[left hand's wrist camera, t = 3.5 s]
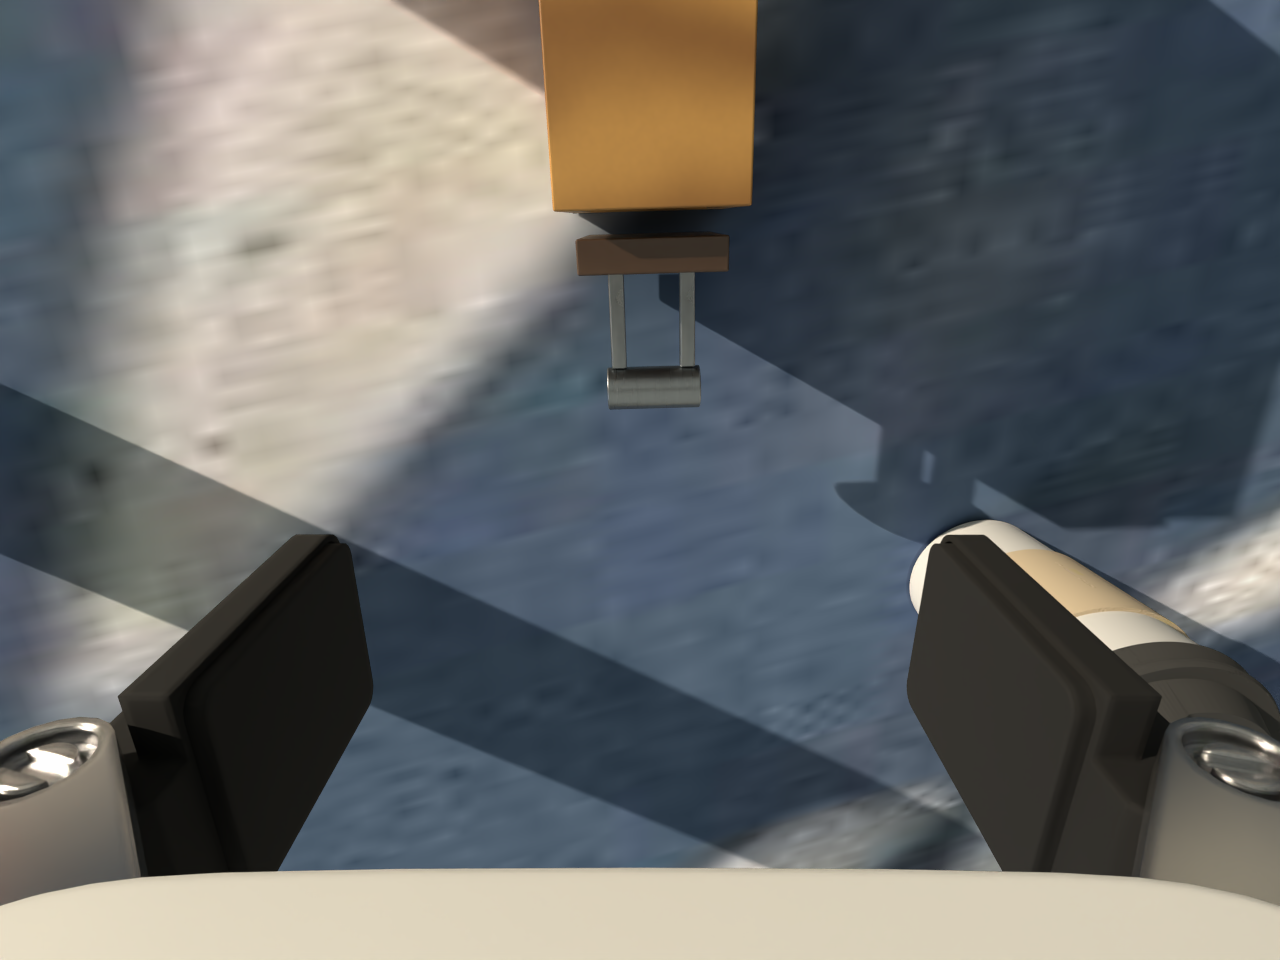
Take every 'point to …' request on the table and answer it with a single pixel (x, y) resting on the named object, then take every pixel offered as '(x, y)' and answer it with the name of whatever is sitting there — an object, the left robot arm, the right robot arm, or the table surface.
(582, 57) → the cabinet
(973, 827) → the table surface
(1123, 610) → the coffee cup
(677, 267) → the drawer
